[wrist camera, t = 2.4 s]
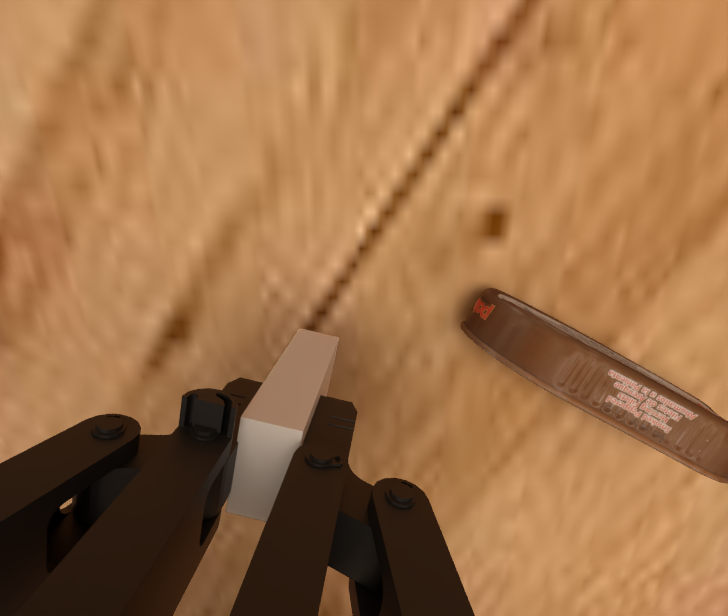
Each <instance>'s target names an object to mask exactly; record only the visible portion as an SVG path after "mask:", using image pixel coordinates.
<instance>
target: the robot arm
mask: <svg viewBox="0 0 728 616" xmlns="http://www.w3.org/2000/svg"><path fill="white" fill-rule="evenodd" d="M339 338H340V337H336V336H331V335H327V334H323V333H318V332H314V331H310V330H305V329H301V328H299V329H298V331H297V332H296V334H295V335H294V337H293V338H292V340H291V341H290V343H289V344H288V346H287V347H286V349H285V350H284V352H283V353H282V355H281V357H280V358H279V360H278V361H277V363H276V364H275V366H274V367H273V369H272V370H271V372H270V373H269V375H268V376H267V378H266V379H265V381H264V382H263V383H261V382H257V381H253V380H248V379H244V378H238V379H236V380H234V381H232V382H229V383H228V384H227V385H226V386H225V387H224V389H223V390H222V391H221V390H217V389H209V388H208V389H196V390H193V391H189V392H187V393H186V394H184V395H183V396H182V402H181V411H180V419H179V426H178V427H177V429H176V430H175V431H174V432H173V433H172V434H170V435H140V431H141V427H140V425H139V423H138V421H136V420H135V419H133V418H131V417H128V416H125V415H121V414H105V415H98V416H95V417H92V418H89V419H86V420H84V421H82V422H80V423H78V424H77V425H75V426H73V427H71V428H69V429H67V430H65V431H63V432H61V433H59V434H57V435H55V436H53V437H51V438H49V439H47V440H45V441H43V442H41V443H39V444H37V445H36V446H34V447H32V448H30V449H28V450H26V451H24V452H22V453H20V454H18V455H16V456H14V457H12V458H10V459H8V460H6V461H4V462H2V463H0V616H173V614H174V612H175V610H176V608H177V606H178V604H179V602H180V600H181V598H182V596H183V594H184V592H185V590H186V588H187V586H188V584H189V583H190V581H191V579H192V577H193V575H194V573H195V571H196V569H197V567H198V565H199V563H200V561H201V559H202V557H203V555H204V553H205V552H206V550H207V548H208V546H209V544H210V542H211V540H212V538H213V536H214V534H215V532H216V530H217V528H218V526H219V521H220V515H221V509H222V507H223V505H224V503H225V501H226V499H227V497H228V501H227V507H226V512H227V513H232V514H236V515H240V516H244V517H248V518H253V519H257V520H261V521H265V522H266V525H265V527H264V530H263V532H262V535H261V537H260V540H259V542H258V545H257V547H256V550H255V553H254V555H253V558H252V560H251V563H250V565H249V568H248V570H247V573H246V575H245V578H244V580H243V583H242V585H241V588H240V590H239V593H238V596H237V598H236V601H235V603H234V606H233V608H232V611H231V613H230V616H318V611H319V606H320V601H321V596H322V591H323V586H324V581H325V576H326V571H327V566H330V567H332V568H333V569H335V570H337V571H339V572H340V573H342V574H344V575H346V576H347V577H349V593H350V600H351V607H352V614H353V616H475V615H474V613H473V610H472V608H471V605H470V603H469V600H468V597H467V595H466V592H465V590H464V587H463V585H462V582H461V580H460V577H459V575H458V572H457V570H456V567H455V565H454V562H453V560H452V557H451V555H450V552H449V550H448V547H447V545H446V542H445V540H444V537H443V535H442V532H441V530H440V527H439V525H438V522H437V520H436V517H435V515H434V512H433V510H432V507H431V505H430V502H429V499H428V498H427V496H426V495H425V493H424V492H423V491H422V490H421V489H420V488H419V487H417V486H416V485H415V484H412V483H410V482H408V481H406V480H402V479H398V478H384V479H382V480H380V481H377V482H376V484H375V485H374V486H372V485H370V484H368V483H366V482H364V481H363V480H361V479H360V478H358V477H357V476H356V475H355V474H354V473H353V472H352V470H351V469H350V467H349V464H348V457H349V451H350V446H351V441H352V436H353V431H354V426H355V421H356V416H357V411H356V409H355V407H354V405H353V403H352V402H348V401H344V400H339V399H335V398H331V397H327V394H328V389H329V385H330V380H331V375H332V370H333V366H334V361H335V356H336V352H337V347H338V342H339ZM71 498H72V503H71V504H70V505H68V506H67V507H65V508H63V509H61V510H60V506H61V505H62V504H63V503H65V502H66V501H68V500H69V499H71Z"/></svg>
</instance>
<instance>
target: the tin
mask: <svg viewBox="0 0 728 616" xmlns="http://www.w3.org/2000/svg"><path fill="white" fill-rule="evenodd" d="M461 329H462V330H463V331H464V333H465V334H466V335H467V336H468V337H469V338H470V339H472V340H473V341H474V342H475V343H476V344H477V345H479V346H480V347H481V348H482V349H484V350H485V351H486V352H487V353H488V354H490V355H491V356H493V357H494V358H496V359H497V360H499V361H500V362H501V363H503V364H505V365H506V366H508V367H509V368H511V369H512V370H514V371H515V372H517V373H518V374H520V375H521V376H523V377H525V378H526V379H528V380H529V381H531V382H533V383H535V384H536V385H538V386H540V387H541V388H543V389H544V390H547V391H549V392H550V393H552V394H554V395H555V396H557V397H559V398H561V399H563V400H565V401H567V402H568V403H570V404H572V405H574V406H576V407H578V408H579V409H581V410H583V411H585V412H587V413H589V414H591V415H592V416H594V417H596V418H598V419H600V420H602V421H603V422H605V423H608V424H610V425H611V426H613V427H615V428H617V429H619V430H621V431H623V432H624V433H626V434H628V435H630V436H632V437H634V438H635V439H637V440H639V441H641V442H643V443H645V444H647V445H648V446H650V447H652V448H654V449H656V450H657V451H659V452H661V453H663V454H665V455H667V456H669V457H671V458H673V459H674V460H676V461H678V462H680V463H682V464H683V465H685V466H687V467H689V468H691V469H693V470H694V471H696V472H698V473H700V474H702V475H704V476H706V477H709V478H711V479H713V480H716V481H718V482H721V483H728V421H726V420H724V419H723V418H721V417H720V416H719V415H717V414H716V413H715V412H714V411H713V410H712V409H711V408H710V407H709V406H707V405H706V404H705V403H703V402H702V401H700V400H699V399H697V398H695V397H694V396H692V395H690V394H689V393H687V392H685V391H684V390H682V389H680V388H678V387H677V386H675V385H673V384H671V383H670V382H668V381H666V380H665V379H663V378H661V377H659V376H657V375H656V374H654V373H652V372H650V371H648V370H647V369H645V368H643V367H641V366H640V365H638V364H636V363H634V362H632V361H631V360H629V359H627V358H625V357H624V356H622V355H620V354H618V353H617V352H615V351H613V350H611V349H609V348H608V347H606V346H604V345H602V344H601V343H599V342H597V341H595V340H594V339H592V338H590V337H588V336H586V335H585V334H583V333H581V332H579V331H577V330H575V329H574V328H572V327H570V326H568V325H566V324H564V323H562V322H561V321H559V320H557V319H555V318H553V317H551V316H549V315H547V314H545V313H543V312H542V311H540V310H538V309H536V308H534V307H532V306H530V305H528V304H526V303H524V302H522V301H520V300H518V299H516V298H514V297H512V296H510V295H508V294H506V293H504V292H502V291H500V290H497V289H493V288H489V289H487V290H485V291H484V292H483V293H482V295H481V296H480V297H479V299H478V301H477V302H476V304H475V306H474V307H473V309H472V311H471V312H470V314H469V316H468V317H467V319H466V320H465V321H463V322H462V323H461Z"/></svg>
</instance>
